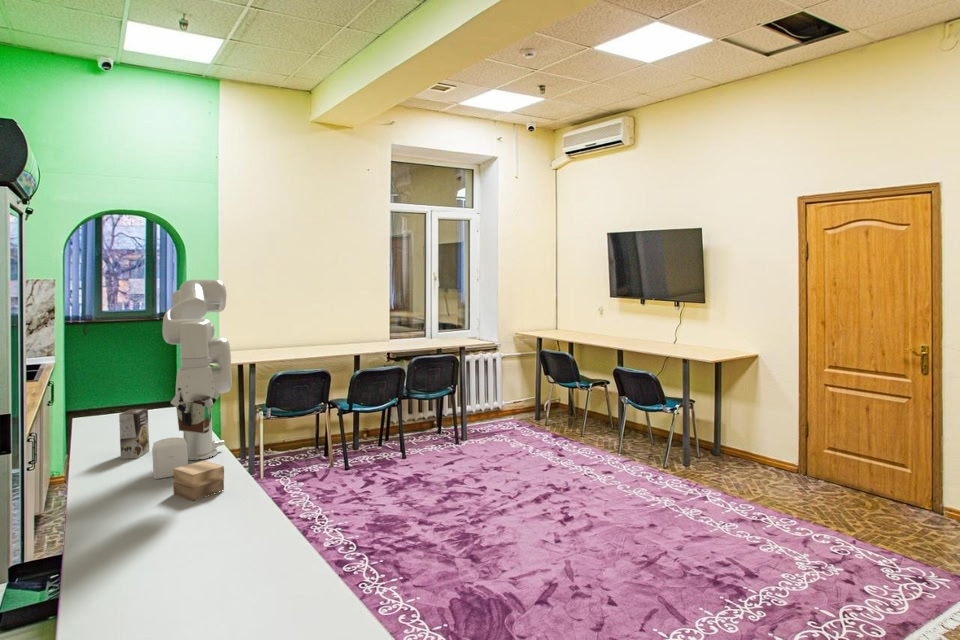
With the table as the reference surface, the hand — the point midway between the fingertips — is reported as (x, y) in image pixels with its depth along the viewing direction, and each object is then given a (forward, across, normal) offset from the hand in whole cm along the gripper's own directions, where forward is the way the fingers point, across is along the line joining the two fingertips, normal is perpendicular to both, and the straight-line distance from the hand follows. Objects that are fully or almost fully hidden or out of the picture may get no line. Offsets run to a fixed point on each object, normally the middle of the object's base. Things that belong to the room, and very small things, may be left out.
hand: (196, 422), depth 187 cm
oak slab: (+18, 0, 0) cm, 18 cm away
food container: (+3, -1, 0) cm, 3 cm away
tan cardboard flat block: (+22, 0, 0) cm, 22 cm away
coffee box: (+22, -10, -55) cm, 60 cm away
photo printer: (+22, -4, -22) cm, 31 cm away
